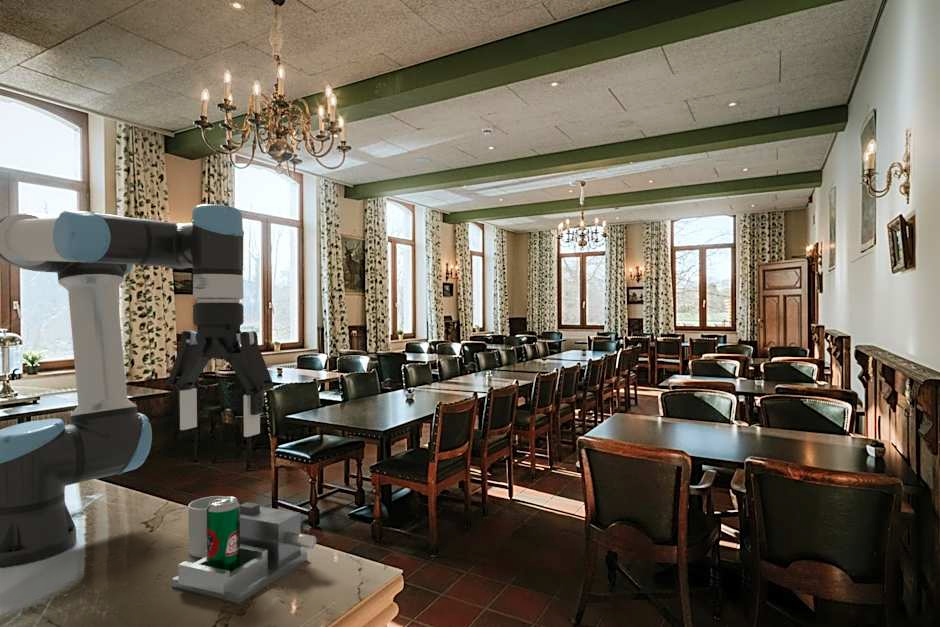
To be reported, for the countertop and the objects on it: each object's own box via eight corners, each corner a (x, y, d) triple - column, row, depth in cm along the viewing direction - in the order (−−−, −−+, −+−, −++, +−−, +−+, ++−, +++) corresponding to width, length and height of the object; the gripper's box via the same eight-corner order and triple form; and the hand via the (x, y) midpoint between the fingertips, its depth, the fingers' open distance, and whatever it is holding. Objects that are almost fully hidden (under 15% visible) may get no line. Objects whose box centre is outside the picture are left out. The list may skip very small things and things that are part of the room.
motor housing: (167, 590, 88) (167, 529, 88) (246, 548, 104) (245, 496, 104) (255, 611, 82) (254, 546, 82) (324, 563, 97) (324, 508, 97)
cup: (199, 562, 98) (199, 512, 98) (175, 547, 104) (174, 500, 104) (238, 548, 104) (238, 501, 104) (213, 535, 110) (212, 490, 110)
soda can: (232, 581, 88) (232, 506, 88) (200, 582, 88) (200, 506, 88) (245, 567, 93) (244, 495, 93) (214, 567, 93) (214, 495, 93)
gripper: (143, 301, 91) (144, 430, 91) (262, 300, 82) (263, 443, 82) (181, 302, 98) (182, 421, 98) (295, 301, 89) (296, 432, 89)
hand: (219, 431), depth 90 cm, fingers open, 13 cm apart
